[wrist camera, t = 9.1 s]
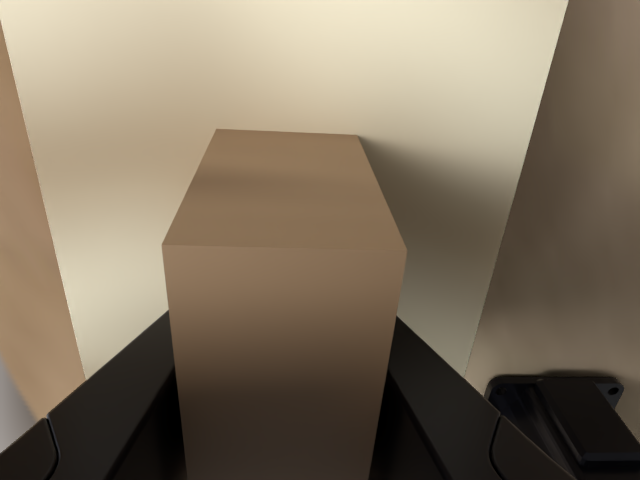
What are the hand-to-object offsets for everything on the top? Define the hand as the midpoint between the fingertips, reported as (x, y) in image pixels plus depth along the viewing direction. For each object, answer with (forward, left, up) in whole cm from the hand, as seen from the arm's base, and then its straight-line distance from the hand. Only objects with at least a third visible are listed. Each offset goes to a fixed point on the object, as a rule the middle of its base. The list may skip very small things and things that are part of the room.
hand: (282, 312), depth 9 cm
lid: (+3, 0, -3) cm, 4 cm away
